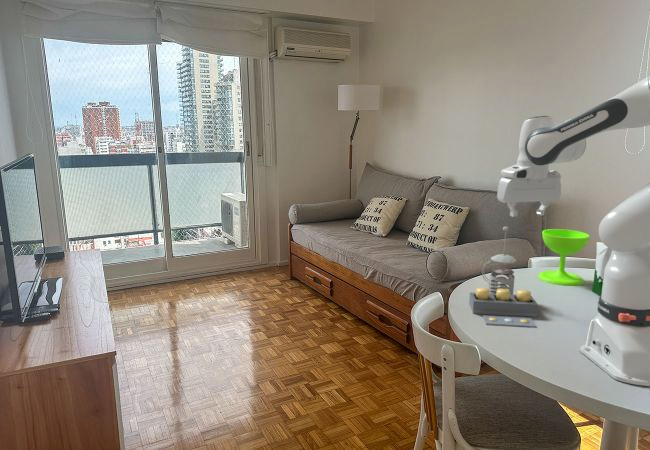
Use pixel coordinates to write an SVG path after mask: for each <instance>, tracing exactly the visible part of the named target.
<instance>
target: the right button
mask: <svg viewBox="0 0 650 450" xmlns="http://www.w3.org/2000/svg"><path fill="white" fill-rule="evenodd" d="M516 295H517V298H516V300H517V301H518V302H530V298H531V296H532V292H531V291H530V290H527V289H518V290H516Z"/></svg>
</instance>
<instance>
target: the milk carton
mask: <svg viewBox="0 0 650 450" xmlns="http://www.w3.org/2000/svg"><path fill="white" fill-rule="evenodd" d="M611 252H612V250H611V249H610V248H608V247H607V246H606V245H605V244H604V243H603V242H602V241H601V242H600V241H597V242H596V259H595V265H594V275H593V283H592V290H591V292H592V293H594V294H596V295H597V296H599V297H600V296H601V294H602V286H603V278H604V270H605V266H606V264H607V263H608V260H609V258H610V255H611Z"/></svg>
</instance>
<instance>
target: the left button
mask: <svg viewBox="0 0 650 450" xmlns="http://www.w3.org/2000/svg"><path fill="white" fill-rule="evenodd" d="M475 289H476V290H475V293H476V299H477V300H489V292H490V290H489V288H487V287H476V288H475Z"/></svg>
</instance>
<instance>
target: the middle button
mask: <svg viewBox="0 0 650 450" xmlns="http://www.w3.org/2000/svg"><path fill="white" fill-rule="evenodd" d="M509 299H510V291H509V289H497V291H496V300H497V301H509Z"/></svg>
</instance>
